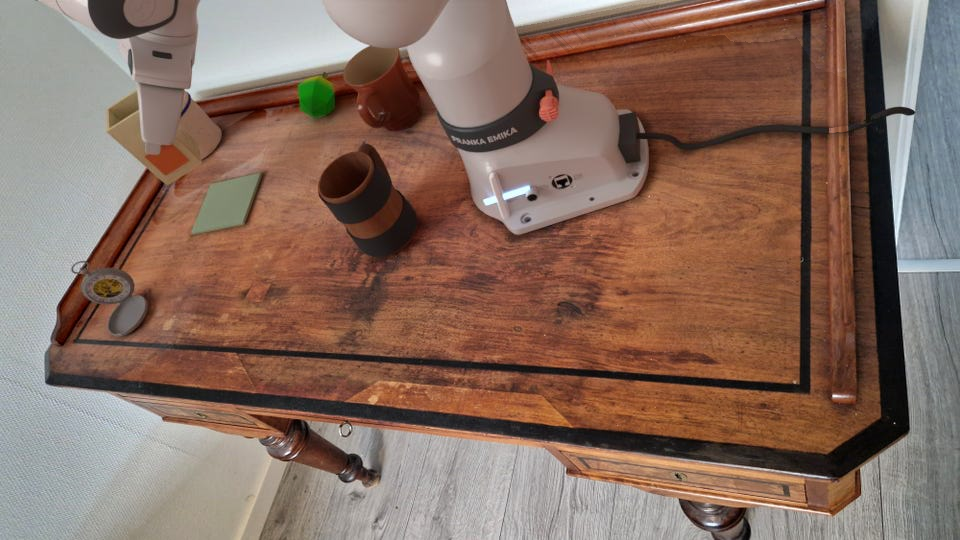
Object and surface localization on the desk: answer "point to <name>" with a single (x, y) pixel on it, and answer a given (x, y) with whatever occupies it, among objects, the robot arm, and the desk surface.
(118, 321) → the pocket watch
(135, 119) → the bin
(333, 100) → the apple
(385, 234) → the mug
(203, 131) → the teacup with lid
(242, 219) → the mat
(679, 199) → the desk surface
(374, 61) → the mug
